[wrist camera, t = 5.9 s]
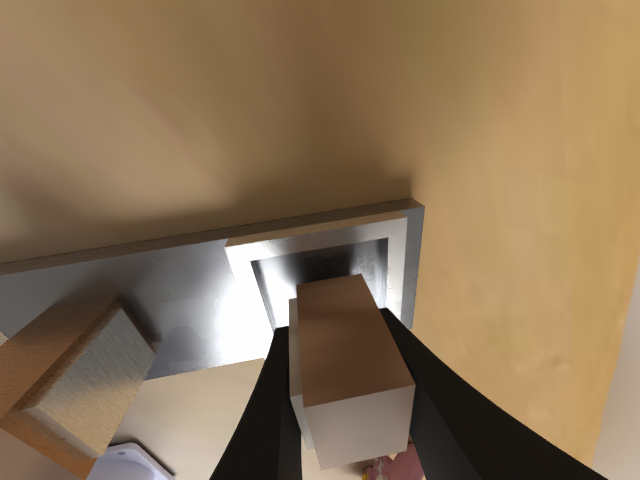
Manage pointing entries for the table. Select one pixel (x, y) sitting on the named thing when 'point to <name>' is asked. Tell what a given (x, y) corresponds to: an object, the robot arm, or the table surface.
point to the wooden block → (346, 373)
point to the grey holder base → (169, 319)
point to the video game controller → (397, 467)
